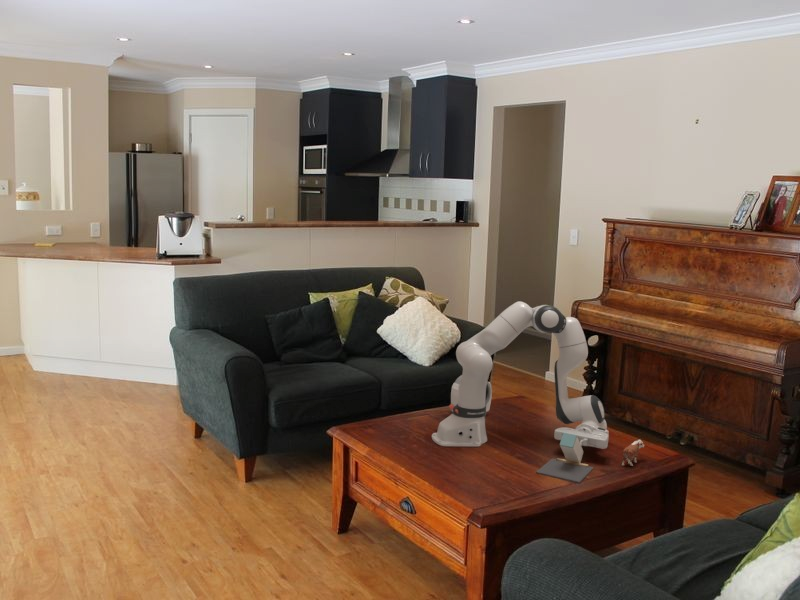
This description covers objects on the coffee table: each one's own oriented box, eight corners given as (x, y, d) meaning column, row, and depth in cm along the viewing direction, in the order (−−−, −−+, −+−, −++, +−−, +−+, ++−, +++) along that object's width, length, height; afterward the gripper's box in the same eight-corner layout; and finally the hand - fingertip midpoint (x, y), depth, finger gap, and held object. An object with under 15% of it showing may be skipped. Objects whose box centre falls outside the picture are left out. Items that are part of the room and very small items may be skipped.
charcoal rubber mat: (536, 473, 279) (536, 471, 279) (552, 459, 293) (552, 458, 293) (579, 483, 271) (579, 481, 271) (593, 468, 285) (593, 467, 285)
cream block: (567, 461, 292) (559, 444, 281) (570, 449, 294) (563, 432, 284) (580, 463, 289) (572, 447, 279) (583, 451, 291) (576, 435, 281)
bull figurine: (645, 460, 296) (646, 439, 295) (628, 468, 287) (630, 447, 285) (634, 457, 299) (636, 436, 298) (617, 465, 290) (619, 444, 288)
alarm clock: (458, 421, 336) (460, 376, 333) (448, 416, 343) (450, 371, 340) (492, 416, 345) (494, 372, 341) (481, 411, 352) (483, 368, 349)
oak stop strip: (556, 461, 291) (556, 459, 291) (557, 460, 293) (557, 457, 293) (587, 468, 285) (587, 465, 285) (588, 467, 287) (588, 464, 287)
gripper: (561, 421, 306) (548, 429, 294) (612, 431, 295) (602, 439, 283) (560, 436, 306) (547, 445, 294) (611, 447, 296) (600, 456, 284)
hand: (574, 442), depth 289 cm, fingers closed on cream block, 2 cm apart
